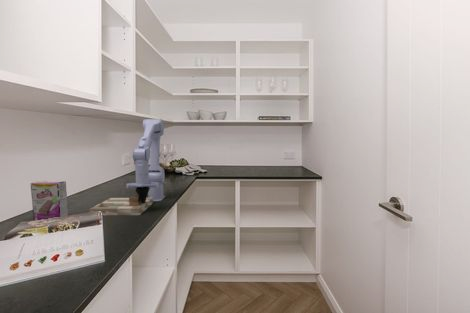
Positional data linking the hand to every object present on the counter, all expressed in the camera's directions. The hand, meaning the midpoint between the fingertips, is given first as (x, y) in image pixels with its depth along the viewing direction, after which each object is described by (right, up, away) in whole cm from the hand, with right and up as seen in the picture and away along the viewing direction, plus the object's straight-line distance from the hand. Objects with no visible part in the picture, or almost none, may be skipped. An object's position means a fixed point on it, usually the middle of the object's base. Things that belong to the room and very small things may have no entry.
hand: (143, 202), depth 108 cm
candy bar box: (-34, -5, -11) cm, 36 cm away
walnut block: (-4, -1, 0) cm, 4 cm away
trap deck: (-11, -4, +4) cm, 12 cm away
